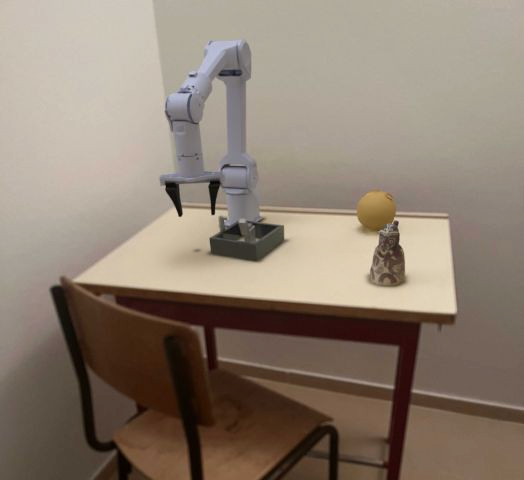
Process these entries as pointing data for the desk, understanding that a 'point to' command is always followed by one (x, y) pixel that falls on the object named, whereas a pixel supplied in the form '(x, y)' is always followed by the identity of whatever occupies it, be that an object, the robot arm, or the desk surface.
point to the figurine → (388, 257)
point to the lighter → (247, 231)
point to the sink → (230, 247)
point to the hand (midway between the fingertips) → (197, 214)
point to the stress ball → (376, 210)
